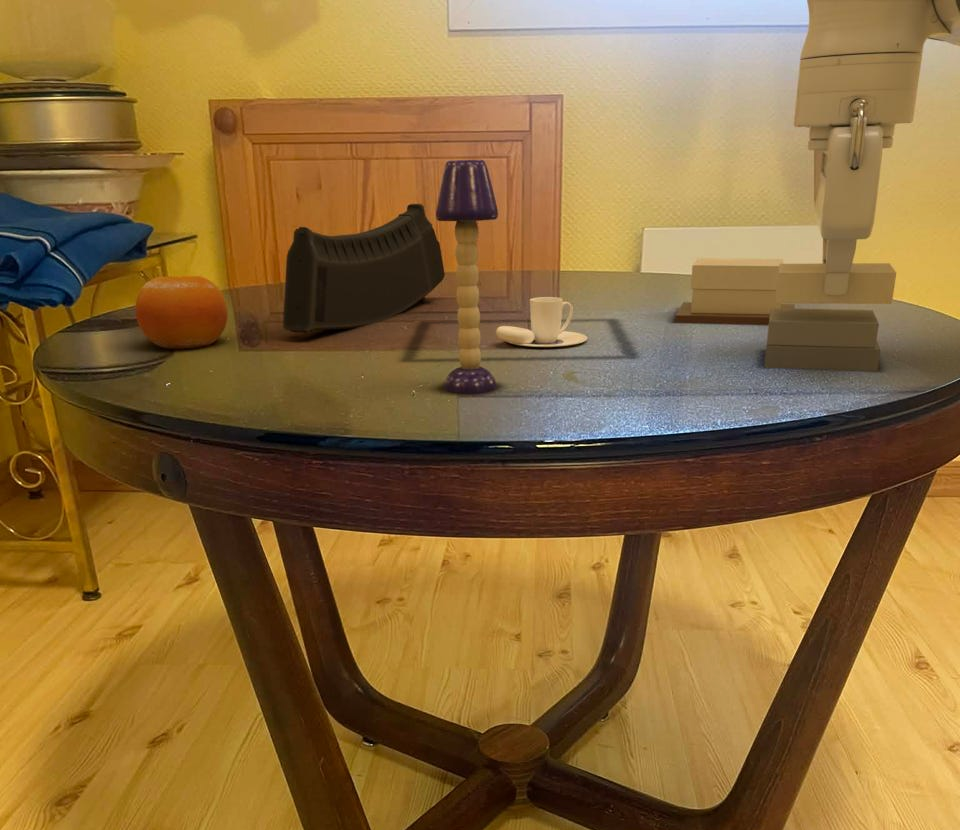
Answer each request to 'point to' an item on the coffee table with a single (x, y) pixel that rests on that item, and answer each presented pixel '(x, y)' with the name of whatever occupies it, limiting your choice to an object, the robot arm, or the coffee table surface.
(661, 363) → the coffee table surface
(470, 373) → the toy lamp
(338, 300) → the magazine
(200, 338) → the fruit
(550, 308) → the teacup and saucer
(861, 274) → the tan flat block
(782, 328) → the brown rectangular block
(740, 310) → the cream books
